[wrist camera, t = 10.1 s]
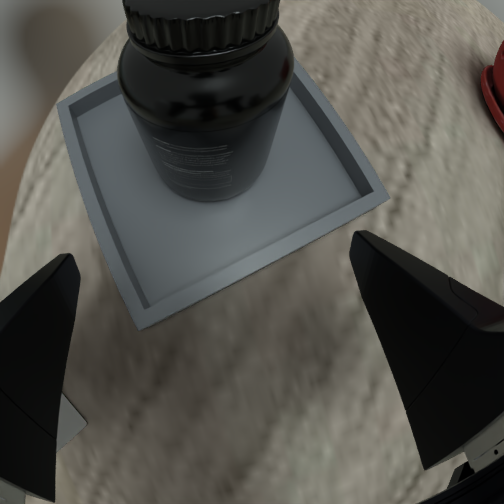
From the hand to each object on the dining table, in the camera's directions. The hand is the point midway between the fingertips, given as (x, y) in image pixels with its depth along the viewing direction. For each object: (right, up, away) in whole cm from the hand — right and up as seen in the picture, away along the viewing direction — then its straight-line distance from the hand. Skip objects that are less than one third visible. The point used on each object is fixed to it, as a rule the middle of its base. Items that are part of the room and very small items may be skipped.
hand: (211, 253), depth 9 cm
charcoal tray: (-1, +6, +9) cm, 11 cm away
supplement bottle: (-1, +6, +9) cm, 11 cm away
